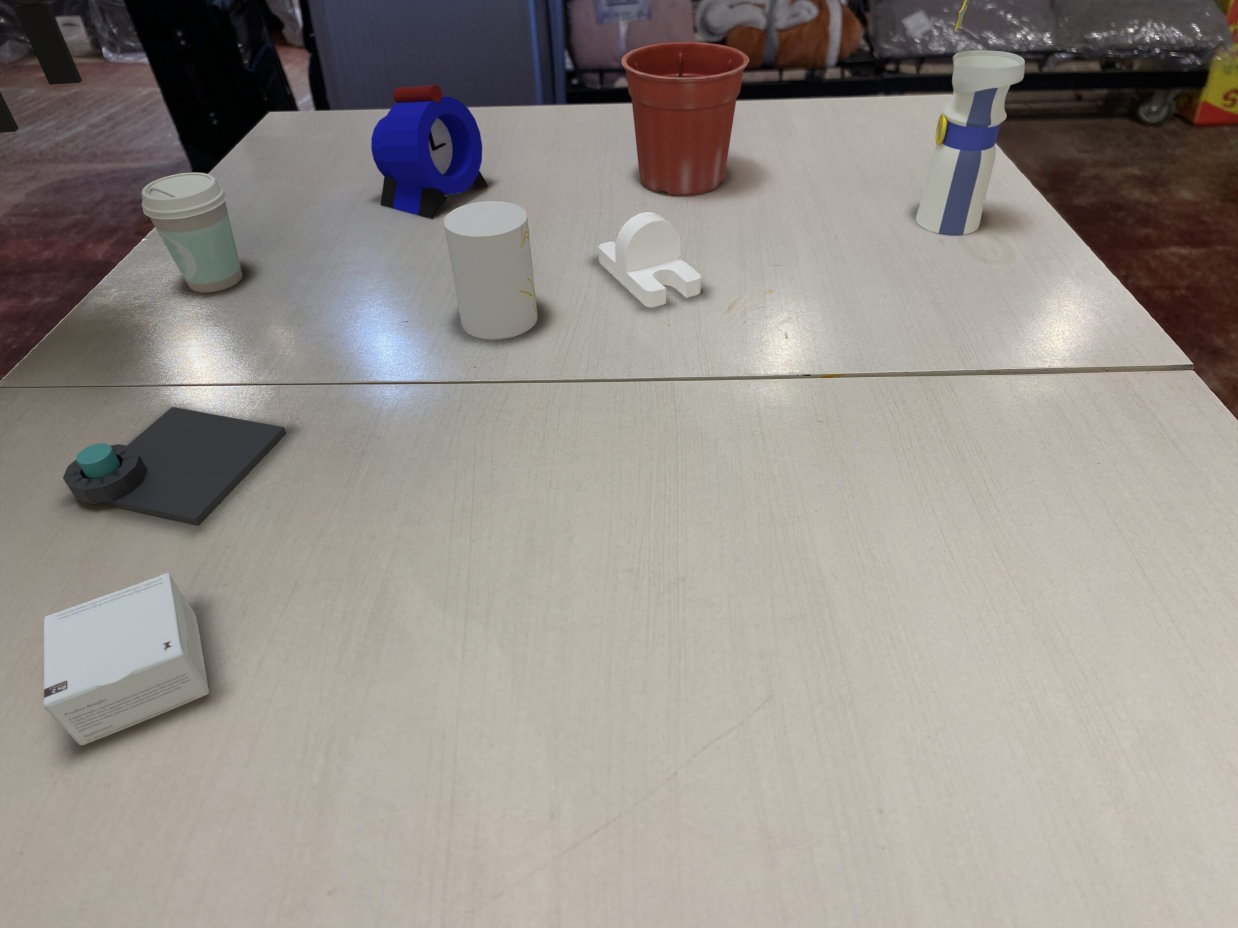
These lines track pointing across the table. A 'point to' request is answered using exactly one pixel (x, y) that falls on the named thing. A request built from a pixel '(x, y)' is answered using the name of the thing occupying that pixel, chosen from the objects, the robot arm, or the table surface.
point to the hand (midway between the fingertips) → (35, 106)
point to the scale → (179, 465)
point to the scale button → (98, 460)
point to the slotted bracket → (649, 260)
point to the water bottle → (967, 140)
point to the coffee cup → (195, 229)
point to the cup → (492, 268)
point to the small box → (122, 659)
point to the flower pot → (683, 112)
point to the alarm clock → (426, 150)
